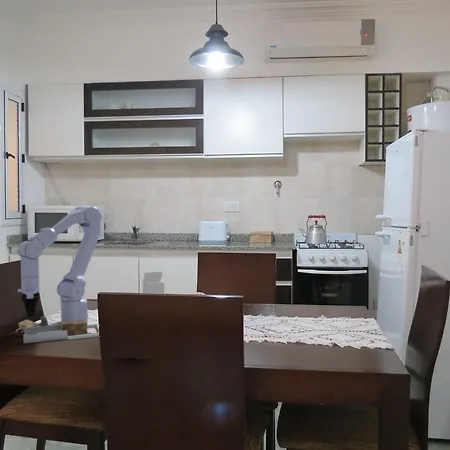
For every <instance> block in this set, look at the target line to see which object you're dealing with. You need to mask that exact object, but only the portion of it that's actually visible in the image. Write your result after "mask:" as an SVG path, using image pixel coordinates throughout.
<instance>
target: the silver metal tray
mask: <svg viewBox="0 0 450 450" xmlns="http://www.w3.org/2000/svg"><path fill="white" fill-rule="evenodd" d="M23 331H24V334H23V335H22V336H23V344H30V343H40V342H50V341H58V340H65V339H66V340H68V336H67V330H62V326H61V323H58V324H48V325H45V326H34V327H24V330H23Z"/></svg>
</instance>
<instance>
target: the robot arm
mask: <svg viewBox="0 0 450 450" xmlns="http://www.w3.org/2000/svg"><path fill="white" fill-rule="evenodd" d="M102 219H103V215H102V213H101V210H100V209H99V208H98V207H97V206H82V205H81V206H77V207H75V209H72V210H71V211H70V212H69V213H68V214H67V215H65V216H64V217H63V218H61V219H60V220H59V221H58V222H57V223H55V224H54V225H52V227H45V228H44V227H41V229H39V232H38V233H36V234H35V235H33V236H30V237H29V238H28V240H25V241H23V242H21V243H20V244H19V246H18V248H17V249H16V251H17V252H16V253H17V255H18V256H19V258H20V279H21V280H20V282H21V283H20V284H21V285H20V287H21V288H18V289H17V293H22V294H21V299H20V300H21V301H22V302H23V304H24V307H25V311H26V312H25V313H26V316H27V318H31V317H32V318H33V317H35V315H36V314H35V313H36V308H37V304H38V301H39V299H40V292H41V288H40V260H39V258H40V257H41V256H42V253H43V251H44V250H45V249H48V247H50V245H51V246H52V244H53V243H56V241H58V236H59V235H60V234H62V233H63V232H65V231H66V230H67V229H69V228H71V227H72V226H74V225H75V224H78V226H79V227H80V228H81V229H82V231H83V233H84V234H83V236H82V239H81V242H80V243H79V246H78V249H77V252H76V254H75V256H74V259H73V262H72V264H71V267H70V270H69V272H67V273H65V275H63V277H62V280H61V281H60V282H59V283H58V285H57V286H56V293H57V294H58V296H60V297H59V298H60V323H61V322H62V321H73V320H74V321H82V320H86V321H87V323H88V322H89V320H88V319H89V313H88V300H87V298H83V297H84V295H85V293H86V289H85V287H86V284H87V281H86V279H85V274H86V271H87V268H88V266H89V265H90V264H89V263H90V261H91V259H92V256H93V254H94V251H95V248H96V245H97V243H98V240H99V237H100V235H101V221H102Z"/></svg>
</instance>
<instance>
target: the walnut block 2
mask: <svg viewBox="0 0 450 450" xmlns="http://www.w3.org/2000/svg"><path fill="white" fill-rule="evenodd" d="M74 322H75V335H85V334H88V328H87V325H88V322H87V321H86V320H82V321H74ZM75 335H74V336H75Z"/></svg>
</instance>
